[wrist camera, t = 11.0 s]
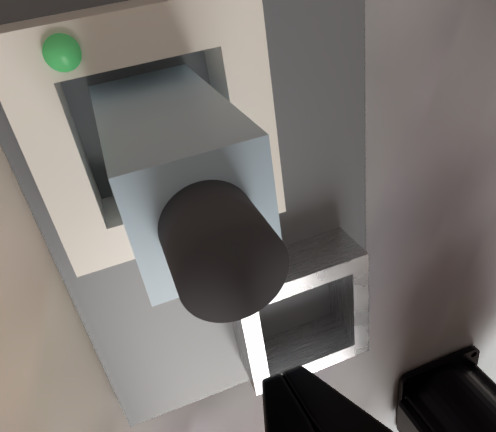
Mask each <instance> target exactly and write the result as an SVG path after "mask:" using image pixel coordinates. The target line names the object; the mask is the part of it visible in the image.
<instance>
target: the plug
mask: <svg viewBox="0 0 496 432" xmlns="http://www.w3.org/2000/svg"><path fill="white" fill-rule="evenodd" d="M88 87H89V91H90V96H91V101H92V105H93V110H94V115H95V120H96V124H97V129H98V134H99V138H100V143H101V148H102V153H103V157H104V162H105V167H106V171H107V176H108V180H109V183H110V186H111V189H112V192H113V195H114V198H115V201H116V204H117V206H118V209H119V212H120V215H121V218H122V221H123V224H124V227H125V230H126V233H127V236H128V239H129V242H130V244H131V247H132V250H133V253H134V256H135V259H136V262H137V265H138V268H139V271H140V274H141V277H142V279H143V282H144V285H145V288H146V291H147V294H148V297H149V300H150V303H151V306H152V307H153V306H156V305H159V304H162V303H165V302H168V301H171V300H174V299H177V298H180V301H181V303H182V304H183V306H184V307H185V308H186V310H187V311H188V312H190V313H191V314H192V315H193V316H195V317H197V318H199V319H201V320H204V321H208V322H213V323H229V322H234V321H238V320H242V319H245V318H247V317H249V316H252V315H253V314H255V313H257V312H259V311H260V310H262V309H263V308H264V307H266V306H267V305H268V304H269V303H270V302H271V301H272V300H273V299H274V298H275V297H276V296H277V295H278V293H279V292H280V290H281V289H282V287H283V285H284V283H285V281H286V278H287V275H288V271H289V255H288V251H287V248H286V246H285V244H284V242H283V241H282V236H281V228H280V220H279V212H278V204H277V196H276V188H275V180H274V172H273V164H272V156H271V148H270V140H269V134H267V133H266V132H265V131H264V130H263V129H261V128H260V127H259V126H258V125H257V124H256V123H254V122H253V121H252V120H251V119H250V118H248V117H247V116H246V115H245V114H244V113H242V112H241V111H240V110H239V109H238V108H237V107H235V106H234V105H233V104H232V103H231V102H229V101H228V100H227V99H226V98H225V97H223V96H222V95H221V94H220V93H219V92H217V91H216V90H215V89H214V88H213V87H212V86H210V85H209V84H208V83H207V82H206V81H204V80H203V79H202V78H201V77H200V76H198V75H197V74H196V73H195V72H194V71H193V70H191V69H190V68H189V67H188V66H187V65H185V64H183V65H179V66H174V67H170V68H166V69H161V70H157V71H153V72H148V73H144V74H139V75H135V76H131V77H126V78H122V79H118V80H113V81H109V82H105V83H100V84H96V85H91V86H88Z"/></svg>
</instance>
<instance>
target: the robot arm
mask: <svg viewBox="0 0 496 432" xmlns="http://www.w3.org/2000/svg"><path fill="white" fill-rule="evenodd" d="M479 353H480V351H479V350H478V349H477V348H476V347H475V346H470V347H467V348H465V349H463V350H460V351H458V352H456V353H453V354H451V355H449V356H446V357H444V358H442V359H439V360H437V361H435V362H432V363H430V364H428V365H425V366H423V367H421V368H418V369H416V370H413V371H411V372H409V373H406V374H404V375H403V376H402V377H401V378H400V380H399V396H398V412H397V430H398V431H399V432H496V384H495V383H494V382H493V381H492V380H491V379H490V378H489V377H488V376H487V375H486V374H485V373H484V372H483V371H482V370H481V369H480V368H479V367H478V366H477V363H478V358H479ZM262 396H263V409H264V423H265V432H393V431H392V430H390V429H389V428H388V427H386V426H385V425H383V424H382V423H381V422H379V421H378V420H377V419H375V418H374V417H372V416H371V415H370V414H368V413H367V412H365V411H364V410H363V409H361V408H360V407H359V406H357V405H356V404H354V403H353V402H352V401H350V400H349V399H348V398H346V397H345V396H343V395H342V394H341V393H339V392H338V391H336V390H335V389H334V388H332V387H331V386H330V385H328V384H327V383H325V382H324V381H323V380H321V379H320V378H319V377H317V376H316V375H314V374H313V373H312V372H310V371H309V370H308V369H306V368H305V367H303V366H300V365H299V366H295V367H293V368H290V369H288V370H285V371H283V373H282V375H281V374H279V373H277V374H275V375H272V376H269V377H267V378H264V379H263V380H262Z"/></svg>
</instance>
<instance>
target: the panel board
mask: <svg viewBox="0 0 496 432" xmlns="http://www.w3.org/2000/svg"><path fill="white" fill-rule="evenodd" d="M123 1H128V0H0V25H2V24H8V23H13V22H18V21H23V20H29V19H34V18H39V17H44V16H50V15H55V14H60V13H65V12H71V11H76V10H81V9H86V8H92V7H97V6H102V5H107V4H113V3H118V2H123ZM262 4H263V12H264V21H265V30H266V39H267V48H268V57H269V65H270V74H271V83H272V92H273V101H274V110H275V118H276V127H277V136H278V145H279V154H280V163H281V171H282V180H283V189H284V198H285V207H286V212H283V213H280V214H279V220H280V228H281V236H282V241H283V242H284V244H285V245H288V244H291V243H294V242H297V241H300V240H303V239H306V238H309V237H312V236H315V235H318V234H321V233H324V232H327V231H330V230H333V229H336V228H339V227H341V228H342V229H343V230H344V231H345V232H346V233H347V234H348V235H349V236H350V237H351V238H353V239H354V240H355V241H356V242H357V243H358V244H359V245H360V246H361V247H362V248H363V249H364V250H365V251H366V199H365V4H364V0H262ZM183 64H185V65H187V66H188V67H189V68H190V69H191V70H193V71H194V72H195V73H196V74H197V75H198V76H200V77H201V78H202V79H203V80H204V81H206V82H207V83H208V84H209V85H210V80H209V75H208V69H207V64H206V59H205V53H204V50H201V51H197V52H192V53H188V54H183V55H179V56H174V57H170V58H165V59H161V60H156V61H152V62H147V63H143V64H138V65H134V66H129V67H125V68H120V69H116V70H111V71H107V72H102V73H98V74H93V75H89V76H84V77H80V78H75V79H71V80H66V81H62V82H60V83H61V86H62V89H63V92H64V95H65V97H66V100H67V103H68V106H69V109H70V111H71V114H72V117H73V120H74V123H75V125H76V128H77V131H78V134H79V137H80V139H81V142H82V145H83V148H84V151H85V153H86V156H87V159H88V162H89V165H90V167H91V170H92V173H93V176H94V179H95V181H96V184H97V187H98V190H99V193H100V195H101V198H102V199H104V198H107V197H111V196H114V195H113V192H112V189H111V186H110V183H109V180H108V176H107V171H106V167H105V162H104V157H103V153H102V148H101V143H100V138H99V134H98V129H97V124H96V120H95V115H94V110H93V105H92V101H91V96H90V91H89V87H88V86H91V85H96V84H100V83H105V82H109V81H113V80H118V79H122V78H126V77H131V76H135V75H139V74H144V73H148V72H153V71H157V70H161V69H166V68H170V67H174V66H179V65H183ZM0 144H1V147H2V149H3V151H4V153H5V155H6V157H7V160H8V162H9V164H10V166H11V168H12V171H13V173H14V175H15V177H16V179H17V181H18V184H19V186H20V188H21V190H22V192H23V194H24V197H25V199H26V201H27V203H28V205H29V208H30V210H31V212H32V214H33V216H34V218H35V221H36V223H37V225H38V227H39V229H40V231H41V234H42V236H43V238H44V240H45V242H46V245H47V247H48V249H49V251H50V253H51V255H52V258H53V260H54V262H55V264H56V266H57V269H58V271H59V273H60V275H61V277H62V279H63V282H64V284H65V286H66V288H67V290H68V292H69V295H70V297H71V299H72V301H73V303H74V306H75V308H76V310H77V312H78V314H79V316H80V319H81V321H82V323H83V325H84V327H85V329H86V332H87V334H88V336H89V338H90V340H91V343H92V345H93V347H94V349H95V351H96V353H97V356H98V358H99V360H100V362H101V364H102V367H103V369H104V371H105V373H106V375H107V377H108V380H109V382H110V384H111V386H112V388H113V390H114V393H115V395H116V397H117V399H118V401H119V404H120V406H121V408H122V410H123V412H124V414H125V417H126V419H127V421H128V423H129V425H130V427H132V426H135V425H137V424H140V423H143V422H145V421H148V420H150V419H153V418H155V417H158V416H160V415H163V414H165V413H168V412H170V411H173V410H175V409H178V408H180V407H183V406H186V405H188V404H191V403H193V402H196V401H198V400H201V399H203V398H206V397H208V396H211V395H213V394H216V393H218V392H221V391H223V390H226V389H229V388H231V387H234V386H236V385H239V384H241V383H244V382H246V381H249V380H250V379H249V377H248V375H247V373H246V371H245V368H244V366H243V364H242V362H241V359H240V356H239V351H238V347H237V342H236V337H235V333H234V328H233V324H232V322H229V323H213V322H208V321H204V320H201V319H199V318H197V317H195V316H193V315H192V314H191V313H190V312H188V311H187V310H186V308H185V307H184V306H183V304H182V303H181V301H180V298H177V299H174V300H171V301H168V302H165V303H162V304H159V305H156V306H153V307H152V306H151V303H150V300H149V297H148V294H147V291H146V288H145V285H144V282H143V279H142V277H141V274H140V271H139V268H138V265H137V262H136V259H134V260H131V261H127V262H124V263H121V264H118V265H115V266H112V267H108V268H105V269H102V270H99V271H96V272H92V273H89V274H86V275H83V276H80V277H77V276H76V274H75V272H74V269H73V267H72V265H71V263H70V260H69V258H68V256H67V253H66V251H65V249H64V247H63V244H62V242H61V240H60V237H59V235H58V233H57V230H56V228H55V226H54V224H53V221H52V219H51V217H50V214H49V212H48V210H47V208H46V205H45V203H44V201H43V198H42V196H41V194H40V191H39V189H38V187H37V185H36V182H35V180H34V178H33V175H32V173H31V171H30V169H29V166H28V164H27V162H26V159H25V157H24V155H23V153H22V150H21V148H20V146H19V143H18V141H17V139H16V136H15V134H14V132H13V130H12V127H11V125H10V123H9V120H8V118H7V116H6V114H5V111H4V109H3V107H2V104H1V102H0ZM330 313H331V311H330V294H329V283H326V284H323V285H320V286H318V287H315V288H312V289H309V290H307V291H304V292H301V293H298V294H295V295H293V296H290V297H287V298H284V299H282V300H279V301H276V302H273V303H270V304H268V305H267V306H266V307H264V308H263V309H262V310H260V311H259V318H260V324H261V330H262V335H263V338H266V337H269V336H271V335H274V334H277V333H279V332H282V331H285V330H287V329H290V328H293V327H295V326H298V325H301V324H303V323H306V322H309V321H311V320H314V319H317V318H319V317H322V316H324V315H327V314H330Z"/></svg>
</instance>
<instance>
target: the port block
mask: <svg viewBox="0 0 496 432" xmlns="http://www.w3.org/2000/svg"><path fill="white" fill-rule="evenodd" d="M201 50H204V53H205V59H206V64H207V69H208V75H209V80H210V86H212V87H213V88H214V89H215V90H216V91H217V92H219V93H220V94H221V95H222V96H223V97H225V98H226V99H227V100H228V101H229V102H231V103H232V104H233V105H234V106H235V107H237V108H238V109H239V110H240V111H241V112H242V113H244V114H245V115H246V116H247V117H248V118H250V119H251V120H252V121H253V122H254V123H256V124H257V125H258V126H259V127H260V128H261V129H263V130H264V131H265V132H266V133H267V134H269V140H270V148H271V156H272V164H273V172H274V180H275V188H276V196H277V204H278V212H279V214H280V213H283V212H286V207H285V198H284V189H283V180H282V171H281V163H280V154H279V145H278V136H277V127H276V118H275V110H274V101H273V92H272V83H271V74H270V65H269V57H268V48H267V39H266V30H265V21H264V12H263V4H262V0H128V1H123V2H118V3H113V4H107V5H102V6H97V7H92V8H86V9H81V10H76V11H71V12H65V13H60V14H55V15H50V16H44V17H39V18H34V19H29V20H23V21H18V22H13V23H8V24H2V25H0V102H1V104H2V107H3V109H4V111H5V114H6V116H7V118H8V120H9V123H10V125H11V127H12V130H13V132H14V134H15V136H16V139H17V141H18V143H19V146H20V148H21V150H22V153H23V155H24V157H25V159H26V162H27V164H28V166H29V169H30V171H31V173H32V175H33V178H34V180H35V182H36V185H37V187H38V189H39V191H40V194H41V196H42V198H43V201H44V203H45V205H46V208H47V210H48V212H49V214H50V217H51V219H52V221H53V224H54V226H55V228H56V230H57V233H58V235H59V237H60V240H61V242H62V244H63V247H64V249H65V251H66V253H67V256H68V258H69V260H70V263H71V265H72V267H73V269H74V272H75V274H76V276H77V277H80V276H83V275H86V274H89V273H92V272H96V271H99V270H102V269H105V268H108V267H112V266H115V265H118V264H121V263H124V262H127V261H131V260H134V259H135V256H134V253H133V250H132V247H131V244H130V242H129V239H128V236H127V233H126V230H125V227H124V224H123V221H122V218H121V215H120V212H119V209H118V206H117V204H116V201H115V198H114V196H111V197H107V198H104V199H102V198H101V195H100V193H99V190H98V187H97V184H96V181H95V179H94V176H93V173H92V170H91V167H90V165H89V162H88V159H87V156H86V153H85V151H84V148H83V145H82V142H81V139H80V137H79V134H78V131H77V128H76V125H75V123H74V120H73V117H72V114H71V111H70V109H69V106H68V103H67V100H66V97H65V95H64V92H63V89H62V86H61V83H60V82H62V81H66V80H71V79H75V78H80V77H84V76H89V75H93V74H98V73H102V72H107V71H111V70H116V69H120V68H125V67H129V66H134V65H138V64H143V63H147V62H152V61H156V60H161V59H165V58H170V57H174V56H179V55H183V54H188V53H192V52H197V51H201Z"/></svg>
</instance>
